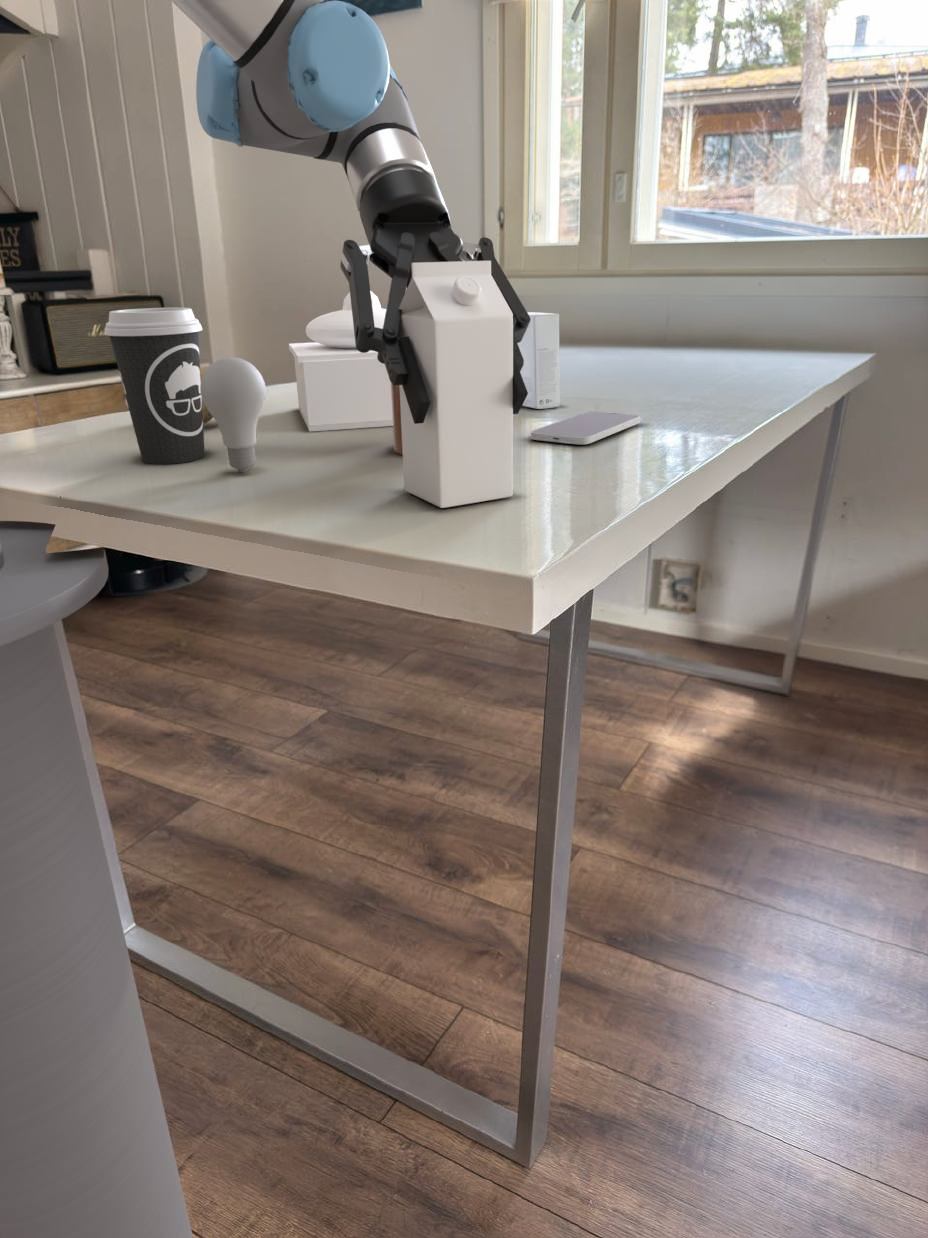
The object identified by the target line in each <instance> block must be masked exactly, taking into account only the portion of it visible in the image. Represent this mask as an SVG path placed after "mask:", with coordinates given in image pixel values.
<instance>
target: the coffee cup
mask: <svg viewBox="0 0 928 1238" xmlns="http://www.w3.org/2000/svg"><path fill="white" fill-rule="evenodd" d="M201 331H203V327H202V323H200V321H199V319H198V318H196V317H195V314H194V311H193V309H192V308H191V307H149V308H147V307H146V308H131V309H130V308H127V309H116V310H111V311H109V313H108V322H106V323H105V327H104V332H103V333H104V336H108V337H109V339H110V343H111V347H112V349H113V353H114V359H115V361H116V366H117V369H118V372H119V376H120V377H119V378H120V380H121V385H122V388H123V391H124V396H125V399H126V403H127V407H128V411H129V415H130V419H131V422H132V426H133V430H134V434H135V438H136V442H137V445H138V450H139V453H140V458H141V461H142V462H144V463H147V464H154V465H170V464H172V465H173V464H180V463H181V464H182V463H188V462H192V461H196V460H199V459H202V458H203V457H205V451H206V449H205V436H204V435H205V433H204V423H203V413H202V396H201V391H200V385H201V376H200V366H201V359H200V338H199V337H200V334H199V332H201Z"/></svg>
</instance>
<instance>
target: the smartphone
mask: <svg viewBox="0 0 928 1238" xmlns="http://www.w3.org/2000/svg"><path fill="white" fill-rule="evenodd" d="M640 423H641V415H639V414H634V413H633V414H632V413H622V412H612V411H611V412H610V411H597V410H589V411H584V412H581V413H579V414H576V415H573V416H570V417H567V418H564V419H561V420H559V421H558V420H557V421H556V422H553V423H550V424H547V425H544V426H542V427H538V428H536V429H533V430H531V431H530V439H531V440H534V441H535V440H536V441H543V442H551V443H561V444H571V445H588V444H592V443H595V442H598V441H599V440H601V439H604V438H607V437H609V436H611V435H614V434H617V433H619V432H621V431H623V430H626V429H628V428H630V427H633V426H635V425H638V424H640Z"/></svg>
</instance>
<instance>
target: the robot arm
mask: <svg viewBox="0 0 928 1238" xmlns="http://www.w3.org/2000/svg"><path fill="white" fill-rule="evenodd" d="M170 1H171V2H172V3H173V4H174V5H175V6H176V7H177V8H178V9H179V10H180V11H181V12H182V13H183V14H184V15H185V16H186V17H187V18H188V19H189V20H191V22H192V23H193V24H195V25H196V26H197V27H198V28H199V29H200V30H201V31H202V33H204V34H205V35H206V36H207V37H208V38H209V40H208V41H206V43H205V44H204V45H203V47H202V49H201V52H200V55H199V59H198V64H197V71H196V81H195V82H196V84H195V96H196V97H195V99H196V111H197V115H198V121H199V123H200V126H201V128H202V130H203V132H205V134H206V135H208V136H209V137H210V138H213V139H215V140H220V141H223V142H228V143H233V144H235V145H236V146H237V147H239V148H244V147H252V148H255V149H263V150H269V151H274V152H281V153H285V154H292V155H297V156H302V157H303V156H304V157H310V158H313V159H316V160H319V161H320V160H321V161H323V160H324V161H326V162H327V161H328V162H334V163H339V164H341V165H342V168H343V169H344V170H343V171H344V173H345V175H346V179H347V181H348V183H349V186H350V190H351V193H352V196H353V199H354V202H355V204H356V208H357V211H358V212H359V218H360V220H361V224H362V228H363V230H364V233H365V237H366V239H367V242H368V243H367V244H362V245H359V244H358V243H357V242H356V241H355V240H353V239H346V240H344V242H343V246H342V252H341V257H340V258H341V259H340V264H339V266H340V270H341V271H342V273H343V275H344V277H345V279H346V280H347V282H348V286H349V292H350V297H351V307H352V316H353V326H354V335H355V344H356V349H357V350H358V351H359V352H362V353H367V352H369V350H372V351H376V352H378V355H377V359H378V361H379V362H381V363H383V364H385V367H386V370H387V373H388V376H389V379H390V381H391V383H392V384H393V385H394V386H395V385H402V386H403V389H404V393H405V396H406V399H407V402H408V405H409V408H410V411H411V414H412V418H413V421H414V424H418V423H423V422H424V420H425V417H426V414H427V411H428V408H429V405H430V400H429V396H428V393H427V390H426V387H425V384H424V381H423V378H422V375H421V372H420V369H419V366H418V363H417V360H416V357H415V354H414V351H413V348H412V345H411V342H410V339H409V336H407V337H400V338H399V341H398V338H397V336H398V331H399V326H400V320H401V314H402V309H399V306H400V304H401V302H402V299H403V297H404V295H405V293H406V290H407V288H408V286H409V283H410V281H411V279H412V263H421V262H458V261H491V275H492V277H493V279H494V281H495V282H496V284H497V286H498V288H499V290H500V291H501V293H502V295H503V297H504V299H505V301H506V302H507V304H508V306H509V308H510V310H511V311H512V313H513V415H518V414H519V413H520V411H521V409H522V407H523V406H522V405H523V403H524V401H525V399H526V397H527V395H528V392H527V389H526V387H525V384H524V381H523V379H522V376H521V373H520V371H521V369H522V367H523V364H524V359H523V357H522V355H521V351H520V349H519V346H518V344H517V343H519V342H521V341H522V339H523V336H524V334H525V332H526V330H527V327H528V325H529V323H530V320H531V319H530V316H529V315H528V313H527V312H528V311H527V309H526V307H525V305H524V304H523V303H522V301H521V299H520V298H519V296H518V294H517V293H516V290H514V288H513V285H512V284H511V282H510V281H509V278H508V277H507V275H506V274H505V272H504V270H503V269H502V267H501V266H500V263H499V262H498V260H497V258H496V256H495V249H494V244H493V240H491V238H489V237H480V239H479V240H478V244H476V243H468V242H463V241H462V238H461V237H460V236H459V235H458V234H457V233H456V232H455V231H454V230H453V228H452V223H451V218H450V214H449V210H448V208H447V205H446V203H445V199H444V198H443V195H442V192H441V189H440V187H439V184H438V182H437V178H436V175H435V172H434V171H433V168H432V165H431V163H430V160H429V158H428V155H427V153H426V149H425V148H424V145H423V142H422V139H421V136H420V133H419V130H418V128H417V125H416V123H415V120H414V116H413V114H412V111H411V107H410V104H409V102H408V100H409V99H408V97H407V94H406V91H405V89H404V87H403V85H402V84H401V83H400V81H399V80H398V78H397V75H396V73H395V71H394V69H393V67H392V66H391V64H390V56H389V52H388V48H387V44H386V41H385V39H384V36H383V34H382V32H381V30H380V28H379V27H378V25H377V24H376V22H375V21H374V20H373V19H372V17H371V16H370V15H369V14H367V12H366V11H364V10H363V9H362V8H360V7H358V6H355V5H354V4H352V3H350V2H346V1H341V0H170ZM370 264H373V265H374V266H375V267H377V268H378V269H379V270H381V271H382V272H383V273H384V274H385V275H386V276H388V277H390V278H391V281H390V286H389V291H388V298H387V304H386V308H385V309H386V314H385V319H384V325H383V329H381V328H377V327H375V326H374V317H373V309H372V300H371V292H372V291H371V284H370V277H369V269H370ZM370 291H371V292H370ZM3 565H4V556H3V551H2V547H1V543H0V569H1V568H2V567H3Z"/></svg>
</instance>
